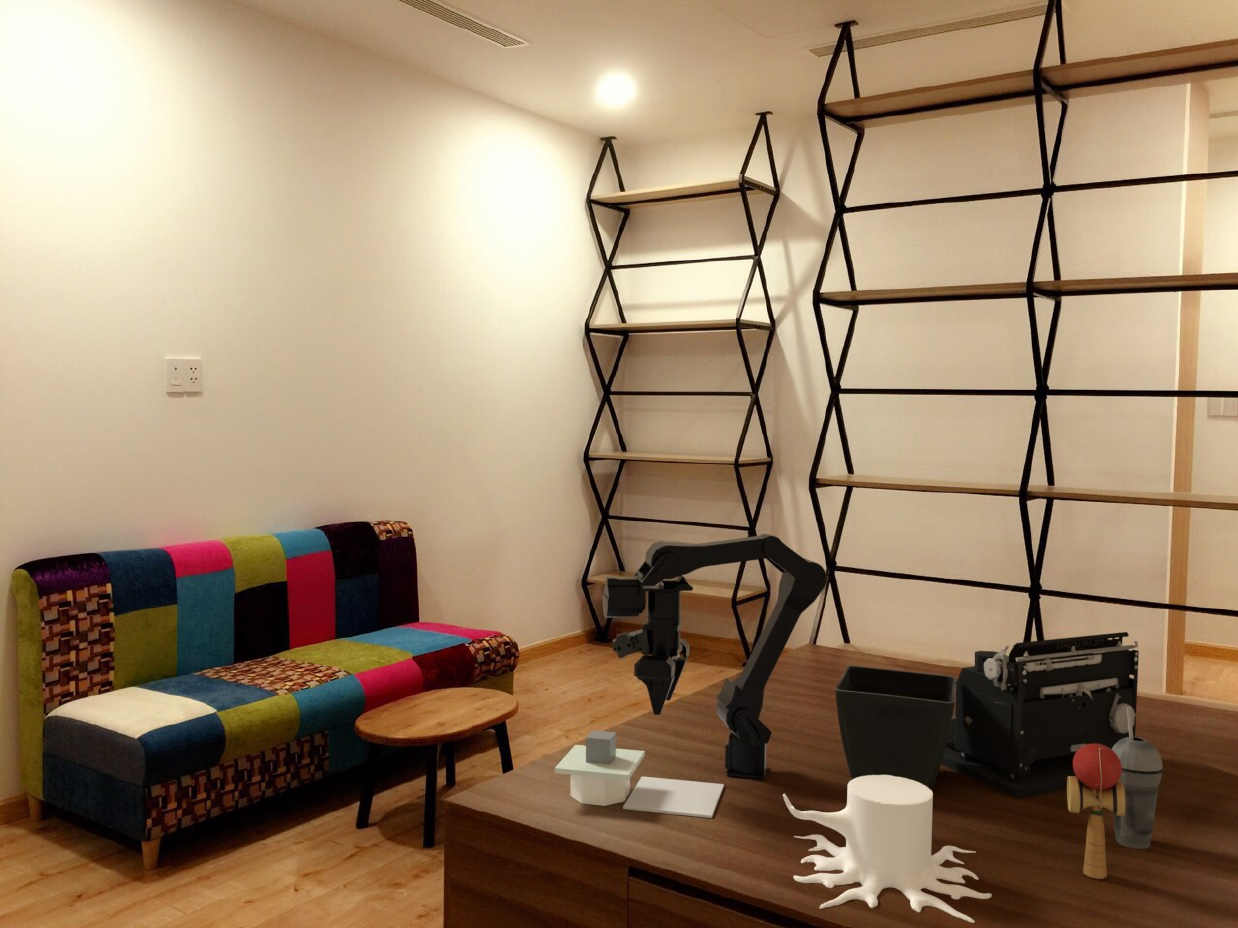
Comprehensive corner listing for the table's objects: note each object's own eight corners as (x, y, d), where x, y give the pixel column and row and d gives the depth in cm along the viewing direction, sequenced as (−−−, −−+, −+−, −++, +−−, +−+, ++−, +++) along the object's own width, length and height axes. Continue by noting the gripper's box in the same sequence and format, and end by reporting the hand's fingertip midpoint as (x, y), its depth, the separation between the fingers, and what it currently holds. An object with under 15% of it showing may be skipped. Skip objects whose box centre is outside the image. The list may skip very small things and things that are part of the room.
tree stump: (778, 905, 129) (780, 817, 128) (783, 820, 156) (785, 747, 156) (1008, 928, 124) (1011, 836, 124) (971, 836, 152) (973, 761, 151)
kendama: (1056, 875, 138) (1060, 743, 137) (1068, 859, 143) (1072, 733, 142) (1118, 891, 133) (1123, 756, 132) (1128, 875, 138) (1133, 744, 137)
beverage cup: (1168, 855, 144) (1172, 716, 144) (1112, 850, 146) (1117, 712, 145) (1151, 835, 152) (1156, 702, 151) (1099, 830, 153) (1103, 699, 152)
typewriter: (1030, 732, 203) (1033, 608, 202) (1150, 776, 178) (1155, 634, 177) (906, 751, 190) (909, 618, 189) (1017, 801, 165) (1022, 649, 164)
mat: (723, 786, 170) (723, 784, 170) (711, 817, 156) (711, 815, 156) (641, 778, 173) (641, 776, 173) (623, 808, 159) (623, 806, 159)
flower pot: (954, 767, 181) (956, 673, 180) (952, 805, 163) (954, 701, 162) (845, 754, 187) (847, 664, 186) (832, 789, 169) (834, 689, 168)
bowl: (633, 787, 169) (633, 757, 168) (620, 807, 160) (621, 776, 160) (580, 782, 171) (581, 752, 171) (565, 801, 162) (565, 770, 162)
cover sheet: (644, 755, 170) (644, 727, 169) (628, 779, 158) (629, 749, 158) (575, 749, 172) (575, 721, 172) (554, 772, 161) (554, 742, 161)
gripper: (629, 604, 184) (628, 689, 185) (604, 624, 166) (603, 718, 166) (690, 607, 181) (689, 694, 182) (671, 628, 163) (670, 724, 164)
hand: (662, 707), depth 174 cm, fingers open, 9 cm apart
